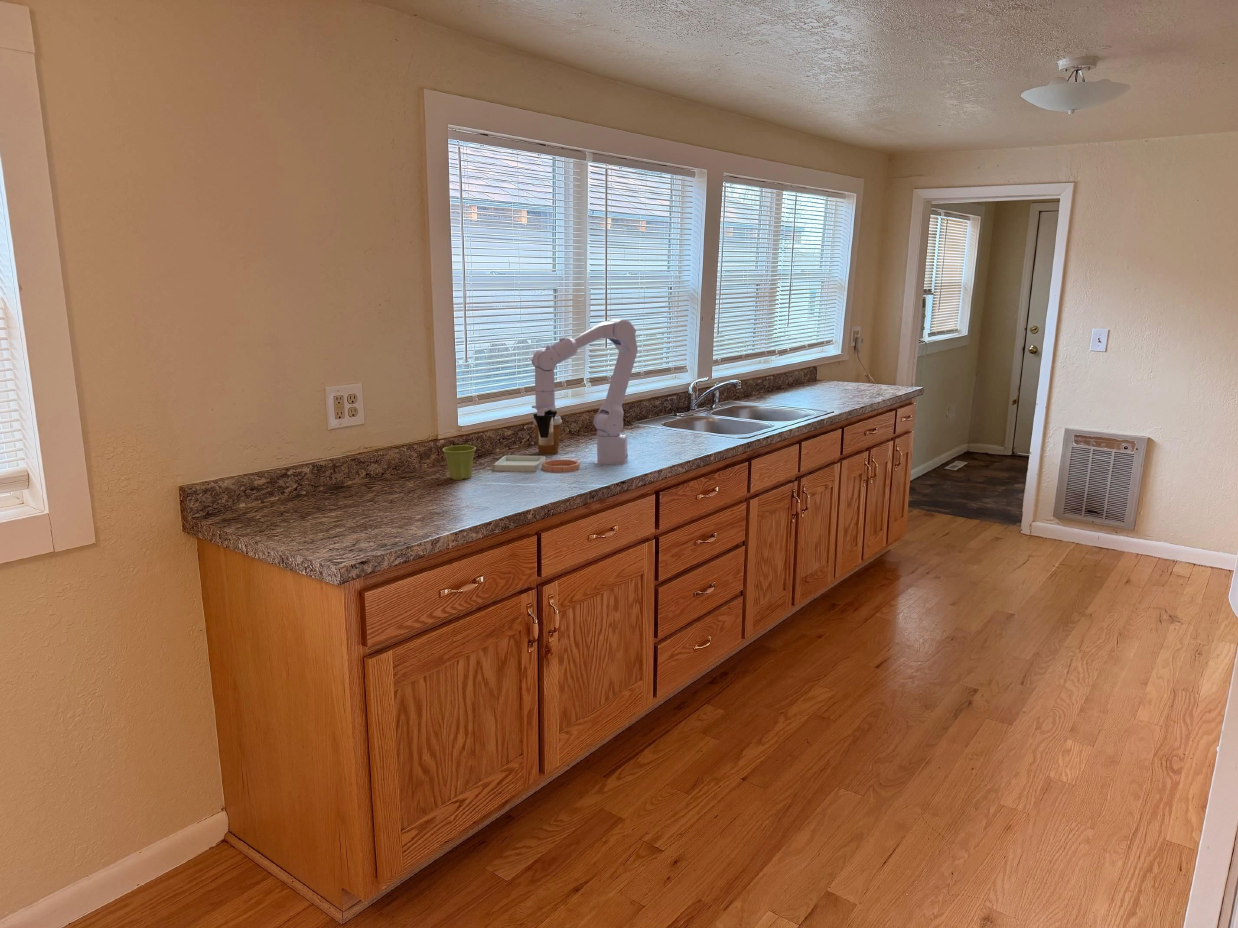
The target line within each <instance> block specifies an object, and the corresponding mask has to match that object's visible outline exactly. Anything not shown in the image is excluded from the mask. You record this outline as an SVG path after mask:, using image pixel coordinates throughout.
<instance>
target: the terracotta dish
mask: <svg viewBox="0 0 1238 928" xmlns="http://www.w3.org/2000/svg"><path fill="white" fill-rule="evenodd" d="M580 468H581V463H580V461H578V460H574V459H569V458H567V459H563V458H561V459H560V458H559V459H550V460H546V461H545V462H543V463H542V466H541V470H543V471H545V472H548V473H549V472H550V473H565V472H566V473H567V472H568V473H569V472H575V471H578V470H579V469H580Z"/></svg>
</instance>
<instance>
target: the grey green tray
mask: <svg viewBox="0 0 1238 928" xmlns="http://www.w3.org/2000/svg"><path fill="white" fill-rule="evenodd" d="M546 457H547V456H546V455H503V457H501V458H500V459H499V460H497V461H496V462H494V463H493V464H492V471H493V472H537V471H539V469H540V468H542V463H543V462H545V461H547V458H546Z"/></svg>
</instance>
